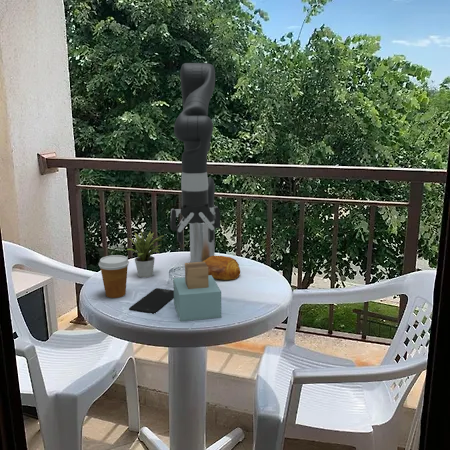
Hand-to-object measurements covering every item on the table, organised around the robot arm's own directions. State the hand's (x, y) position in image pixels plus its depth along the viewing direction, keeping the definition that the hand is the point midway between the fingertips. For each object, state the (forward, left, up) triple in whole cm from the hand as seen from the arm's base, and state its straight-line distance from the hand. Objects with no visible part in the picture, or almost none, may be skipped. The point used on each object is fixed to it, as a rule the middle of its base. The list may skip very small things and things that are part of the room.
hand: (195, 242), depth 147 cm
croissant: (-29, +14, -21) cm, 39 cm away
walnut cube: (0, 0, -13) cm, 13 cm away
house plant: (-33, -13, -21) cm, 41 cm away
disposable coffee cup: (-18, -24, -21) cm, 36 cm away
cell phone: (-10, -11, -22) cm, 26 cm away
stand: (0, 0, -21) cm, 21 cm away
